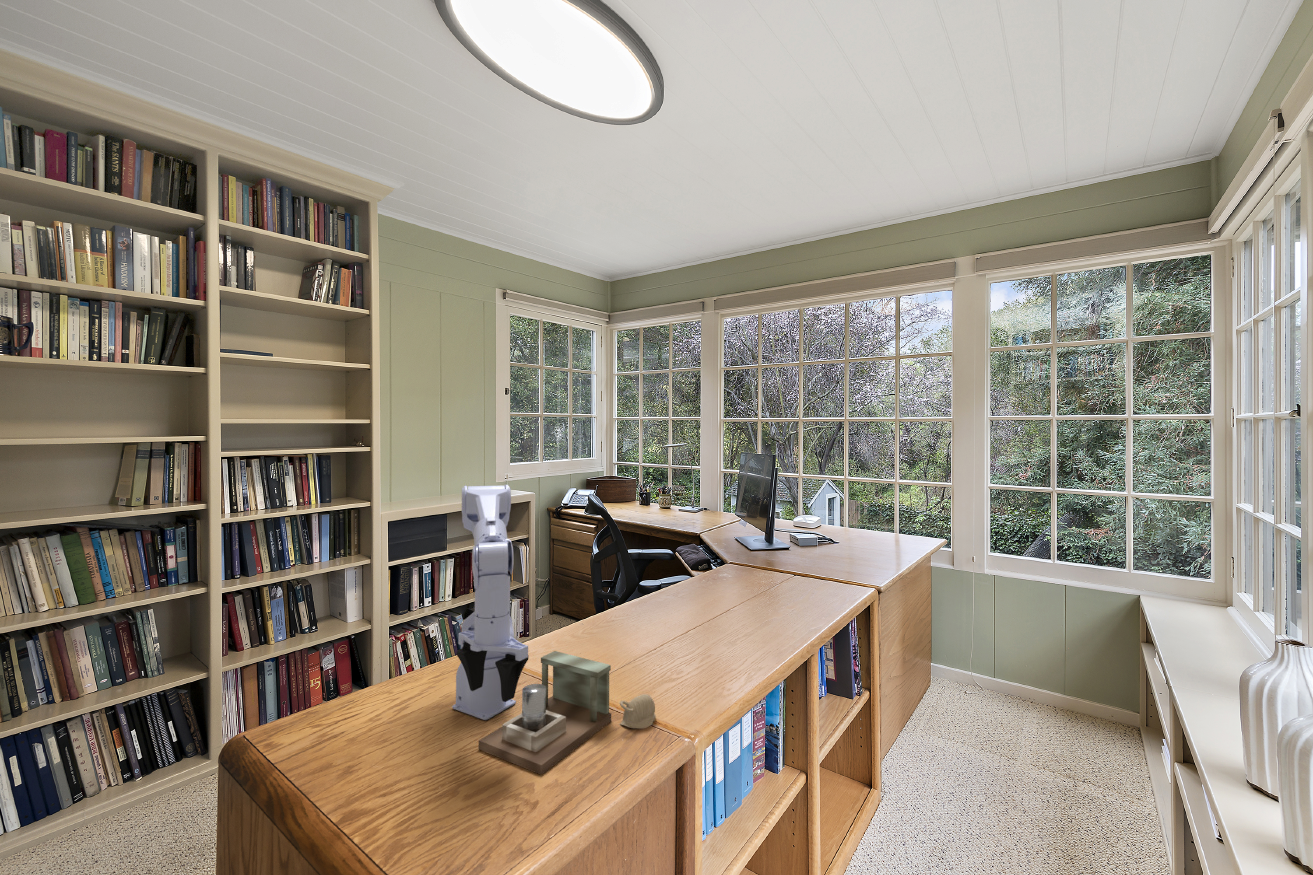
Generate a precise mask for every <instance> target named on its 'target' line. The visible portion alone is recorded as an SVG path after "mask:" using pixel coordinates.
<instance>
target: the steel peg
mask: <svg viewBox="0 0 1313 875" xmlns="http://www.w3.org/2000/svg"><path fill="white" fill-rule="evenodd" d="M521 692H522V694H521V696H522V697H521V698H522V700H521V702H522V704H521V713H522V728H524V729H527V730H530V731H533V732H537V731H539V730H540V729H542V728H543V727H545V726H546V686H544V685H542V683H531V684H527V685H526V686H524V687H523V688H522V691H521Z"/></svg>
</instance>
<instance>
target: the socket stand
mask: <svg viewBox="0 0 1313 875" xmlns="http://www.w3.org/2000/svg"><path fill="white" fill-rule="evenodd" d="M540 663H541V684H542V685H544V686H546V726H545V727H543V728H542V729H540V730H539V731H537V732H533V731H530V730H527V729H524V728H522V712H521V713H519V714H518V715H516V716H514V717H513V718H511V719H509V720H507V721H506V722H504V723H503V724H501V725H502V726H500V727H498V728H497V729H495V730H494V731H492V732H490V733H489V734H487V735H485V736H483V737H482V738H481V739H479V740H478V750H480V751H482V752H484V753H487V754H489V755H491V756H495V757H497V758H499V759H500V760H501V759H502V760H504V761H506V762H509V763H512V764H514V765H516V766H519V767H521V768H524V769H525V770H529V771H531V772H533V773H536V774H538V775H541V776H542V775H543V774H544V773H545V774H546V772H547V771H549V770H550V769H551V768H552V767H553V766H555V765H556V764H558V763H559V762H560V761H561V760H563V759H564V758H565V757H568V755H569V754H570V753H572V752H573V751H575V750H576V749H577V748H578V747H580V746H581V745H583V744H584V743H585V742H586V741H587V740H589V739H590V738H591V737H592V736H594V735H595V734H597V733H598V732H600V731H601V729H603V728H605V727H606V726H607V725H609V724H610V723H611V722H612V712H610V672H611V667H612V666H611V664H608V663H604V662H600V661H595V660H592V659H590V658H589V659H588V658H584V657H581V656H576V655H573V654H568V653H565V652H561V651H558V650H557V651H556V650H553V651H552V652H550V653H547V654H545V655H543V656H541V657H540ZM549 666H551V667H552V696H550V697H549Z"/></svg>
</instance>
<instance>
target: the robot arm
mask: <svg viewBox="0 0 1313 875" xmlns="http://www.w3.org/2000/svg"><path fill="white" fill-rule="evenodd" d="M511 492H512V491H511V487H510V486H509V484H503V485H469V486H468V485H464V486H462V488H461V515H462V516H461V520H462V524H463V529H466V530H468V531H470V532H471V534H472V537H473V541H474V542H473V545H474V546H472V551H471V552H472V553H471V554H472V557H471V558H472V559H471V564H472V568H471V569H472V576H473V586H474V611H473V612H472V613H471V614H470V615H468V617H466V618H465V619H464V620H463V623H462V624H461V632H459V633H458V645H460V649H457V650H456V656H457V658H458V659H459V661H460V664H459V666H458V667H457V670H456V674H455V704H453V705H452V706H451V708H452V709H453V710H456V711H459V712H462V713H464V714H467V715H470V716H473V717H475V718H477V719H480V720H483V721H487V720H489V719H491V718H493V717H495V716H496V715H498V714H500V713H501V712H504V711H506V710H507V709H508V708H510V707H512V706H514V705H515V704H516V703H517V700H516V699H515V700H514V698H515V695H516V690H517V686H518V683H519V680H520V676H521V675H522V672H523V670H524V668H525V666H526V663H528V660H529V658H530V657H529V644H524V643H522V642H521V641H519V640H517V639H516V638H515V632H514V627H513V618H512V617H511V575H513V571H514V561H515V560H514V559H515V558H514V547H513V543H512V540H511V539H510V538H508V533H507V526H508V525H509V524H508V523H509V522H510V512H511V510H512V509H511V507H512V493H511ZM509 573H510V574H509Z"/></svg>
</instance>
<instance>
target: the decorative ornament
mask: <svg viewBox="0 0 1313 875" xmlns="http://www.w3.org/2000/svg"><path fill="white" fill-rule="evenodd" d="M619 705H620V707H621V708H622V709H623V710H624V711H623V714H622V715H623V716H622V720H621V722H619V725H620V726H624V727H626V728H631V729H637V730H640V729H647V728H649V727H650V726H652V725H653V723H654V722H655V720H656V718H657V716H656V713H655V712H656V704H655V701H654V700H653V697H652V696H651V695H650V694H647V693H643V694H640V695H637V696H635V697H633V698H632V699H631V700H630V701H627V700H620V701H619Z"/></svg>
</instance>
